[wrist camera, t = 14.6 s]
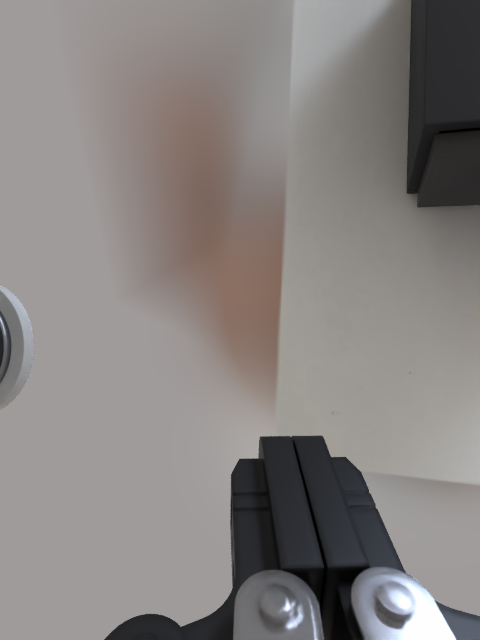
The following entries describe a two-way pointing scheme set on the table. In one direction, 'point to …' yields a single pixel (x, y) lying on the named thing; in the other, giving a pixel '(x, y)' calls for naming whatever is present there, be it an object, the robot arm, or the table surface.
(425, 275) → the table surface
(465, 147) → the drawer
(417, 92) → the cabinet
